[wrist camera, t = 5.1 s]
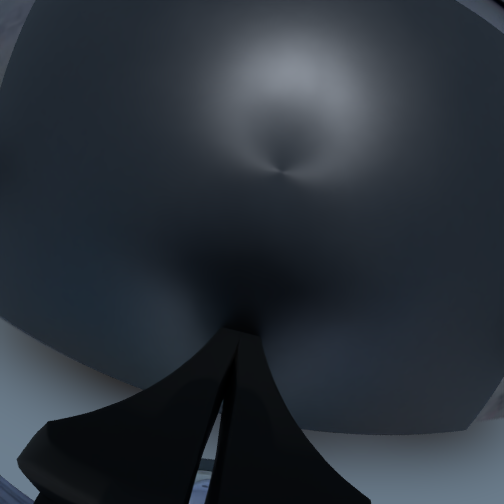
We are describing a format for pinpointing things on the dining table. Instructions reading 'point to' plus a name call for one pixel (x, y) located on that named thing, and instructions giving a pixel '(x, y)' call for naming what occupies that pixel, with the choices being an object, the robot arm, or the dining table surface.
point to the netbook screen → (264, 197)
